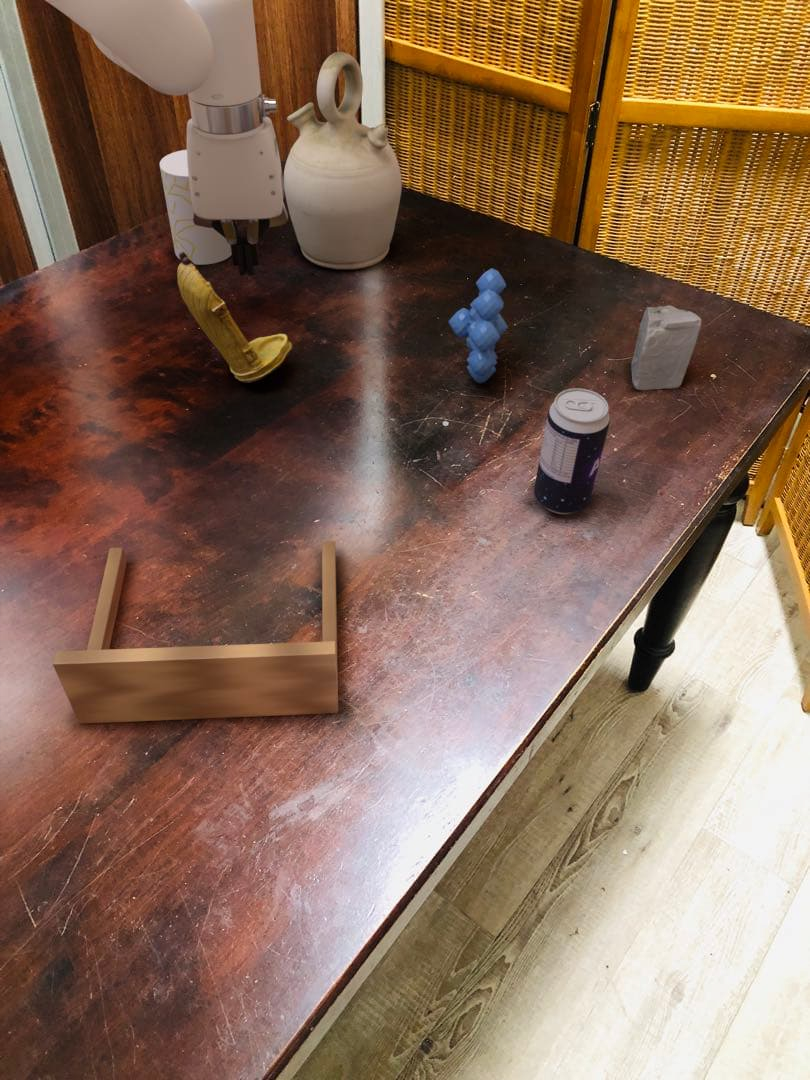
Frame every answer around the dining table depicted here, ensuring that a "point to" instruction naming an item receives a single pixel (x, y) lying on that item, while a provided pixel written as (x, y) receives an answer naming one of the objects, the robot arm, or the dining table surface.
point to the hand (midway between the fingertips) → (247, 269)
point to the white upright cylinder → (188, 215)
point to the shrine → (229, 328)
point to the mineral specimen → (664, 347)
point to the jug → (341, 177)
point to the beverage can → (571, 450)
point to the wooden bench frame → (199, 669)
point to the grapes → (482, 325)
